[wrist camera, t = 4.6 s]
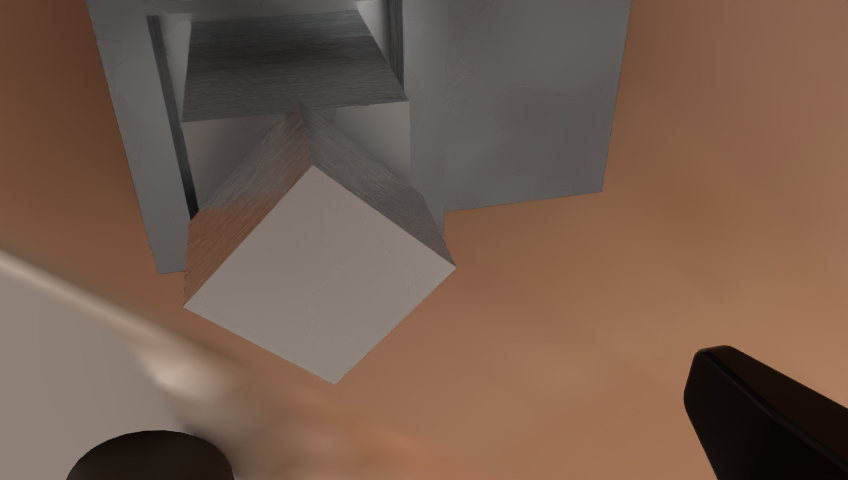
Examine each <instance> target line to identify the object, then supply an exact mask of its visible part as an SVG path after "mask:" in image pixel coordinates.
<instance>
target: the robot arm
mask: <svg viewBox="0 0 848 480" xmlns="http://www.w3.org/2000/svg"><path fill="white" fill-rule="evenodd" d="M684 406H685V409H686V412H687V414H688V416H689V419H690V421H691V423H692V425H693V427H694V430H695V432H696V434H697V436H698V438H699V440H700V443H701V445H702V447H703V449H704V451H705V453H706V456H707V458H708V460H709V462H710V464H711V466H712V469H713V471H714V473H715V475H716V477H717V479H718V480H848V408H846V407H844V406H842V405H840V404H838V403H836V402H834V401H833V400H831V399H829V398H827V397H825V396H823V395H821V394H820V393H818V392H816V391H814V390H812V389H810V388H808V387H806V386H805V385H803V384H801V383H799V382H797V381H795V380H793V379H792V378H790V377H788V376H786V375H784V374H782V373H780V372H778V371H777V370H775V369H773V368H771V367H769V366H767V365H765V364H764V363H762V362H760V361H758V360H756V359H754V358H752V357H750V356H749V355H747V354H745V353H743V352H741V351H739V350H737V349H736V348H733V347H731V346H727V345H722V346H716V347H710V348H704V349H701V350H699V351H698V352H697V353H696V354H695V355H694V358H693V361H692V365H691V368H690V372H689V376H688V379H687V383H686V386H685V390H684Z"/></svg>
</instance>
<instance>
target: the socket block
mask: <svg viewBox="0 0 848 480" xmlns="http://www.w3.org/2000/svg"><path fill="white" fill-rule="evenodd" d="M86 3H87V7H88V11H89V15H90V19H91V22H92V26H93V30H94V34H95V38H96V42H97V45H98V49H99V53H100V57H101V61H102V65H103V68H104V72H105V76H106V80H107V84H108V88H109V91H110V95H111V99H112V103H113V107H114V111H115V114H116V118H117V122H118V126H119V130H120V134H121V137H122V141H123V145H124V149H125V153H126V157H127V160H128V164H129V168H130V172H131V176H132V180H133V183H134V187H135V191H136V195H137V199H138V203H139V206H140V210H141V214H142V218H143V222H144V226H145V229H146V233H147V237H148V241H149V245H150V249H152V251H153V255H154V259H155V262H156V266H157V270H158V274H164V273H172V272H179V271H185V269H186V254H187V239H188V224H189V222H190V221H191V220H192V219H193V218H194V217H195V215H196V214H197V213H198V212H199V207H198V202H197V198H196V193H195V188H194V183H193V178H192V173H191V169H190V164H189V159H188V154H187V149H186V144H185V140H184V135H183V130H182V125H181V118H182V109H183V99H184V90H185V81H186V71H187V62H188V53H189V43H190V34H191V25H192V22H197V21H212V20H226V19H241V18H255V17H270V16H284V15H299V14H313V13H328V12H342V11H357V10H358V11H359V13H360V14H361V16H362V18H363V20H364V21H365V23H366V25H367V27H368V29H369V30H370V32H371V34H372V36H373V37H374V39H375V41H376V43H377V44H378V46H379V48H380V50H381V52H382V53H383V55H384V57H385V59H386V60H387V62H388V64H389V66H390V67H391V69H392V71H393V73H394V75H395V76H396V78H397V80H398V82H399V83H400V85H401V87H402V89H403V90H404V92H405V94H406V96H407V98H408V99H409V103H410V177H411V187H413V188H414V189H415V190H417V191H418V192H419V193H420V194H422V195H423V198H424V200H425V202H426V204H427V206H428V208H429V210H430V212H431V214H432V217H433V219H434V221H435V223H436V225H437V227H438V229H439V231H440V234H441V236H444V212H448V211H456V210H464V209H471V208H479V207H487V206H495V205H503V204H511V203H519V202H526V201H534V200H542V199H550V198H558V197H566V196H574V195H582V194H589V193H597V192H602V187H603V180H604V174H605V168H606V161H607V155H608V149H609V142H610V136H611V130H612V124H613V117H614V111H615V105H616V98H617V92H618V86H619V79H620V73H621V67H622V60H623V54H624V48H625V41H626V35H627V29H628V22H629V16H630V10H631V3H632V0H86Z"/></svg>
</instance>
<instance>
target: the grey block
mask: <svg viewBox="0 0 848 480" xmlns="http://www.w3.org/2000/svg"><path fill="white" fill-rule="evenodd" d="M181 125H182V130H183V135H184V140H185V144H186V149H187V154H188V159H189V164H190V169H191V173H192V178H193V183H194V188H195V193H196V198H197V202H198V207H199V212H198V213H197V214H196V215H195V217H194V218H193V219H192V220H191V221H190V222H189V224H188V239H187V254H186V269H185V284H184V299H183V307H184V308H186V309H188V310H190V311H192V312H194V313H196V314H197V315H199V316H201V317H203V318H205V319H207V320H209V321H211V322H213V323H215V324H217V325H219V326H221V327H223V328H225V329H227V330H229V331H231V332H233V333H235V334H236V335H238V336H240V337H242V338H244V339H246V340H248V341H250V342H252V343H254V344H256V345H258V346H260V347H262V348H264V349H266V350H268V351H270V352H272V353H273V354H275V355H277V356H279V357H281V358H283V359H285V360H287V361H289V362H291V363H293V364H295V365H297V366H299V367H301V368H303V369H305V370H307V371H309V372H311V373H312V374H314V375H316V376H318V377H320V378H322V379H324V380H326V381H328V382H330V383H332V384H334V385H335V384H336V383H337V382H338V381H339V380H340V379H341V378H342V377H343V376H344V375H345V374H346V373H348V372H349V371H350V370H351V369H352V368H353V367H354V366H355V365H356V364H357V363H358V362H359V361H360V360H361V359H362V358H363V357H364V356H365V355H366V354H367V353H368V352H369V351H370V350H372V349H373V348H374V347H375V346H376V345H377V344H378V343H379V342H380V341H381V340H382V339H383V338H384V337H385V336H386V335H387V334H388V333H389V332H390V331H391V330H392V329H393V328H394V327H395V326H397V325H398V324H399V323H400V322H401V321H402V320H403V319H404V318H405V317H406V316H407V315H408V314H409V313H410V312H411V311H412V310H413V309H414V308H415V307H416V306H417V305H418V304H419V303H421V302H422V301H423V300H424V299H425V298H426V297H427V296H428V295H429V294H430V293H431V292H432V291H433V290H434V289H435V288H436V287H437V286H438V285H439V284H440V283H441V282H442V281H443V280H444V279H446V278H447V277H448V276H449V275H450V274H451V273H452V272H453V271H454V270H455V269H456V265H455V263H454V261H453V259H452V257H451V255H450V253H449V251H448V248H447V246H446V244H445V242H444V240H443V238H442V236H441V234H440V231H439V229H438V227H437V225H436V223H435V221H434V219H433V217H432V214H431V212H430V210H429V208H428V206H427V204H426V202H425V200H424V198H423V195H422V194H420V193H419V192H418V191H417V190H415V189H414V188H413V187H411V177H410V103H409V99H408V98H407V96H406V94H405V92H404V90H403V89H402V87H401V85H400V83H399V82H398V80H397V78H396V76H395V75H394V73H393V71H392V69H391V67H390V66H389V64H388V62H387V60H386V59H385V57H384V55H383V53H382V52H381V50H380V48H379V46H378V44H377V43H376V41H375V39H374V37H373V36H372V34H371V32H370V30H369V29H368V27H367V25H366V23H365V21H364V20H363V18H362V16H361V14H360V13H359V11H358V10H357V11H342V12H328V13H313V14H299V15H284V16H270V17H255V18H241V19H226V20H212V21H197V22H192V25H191V34H190V43H189V53H188V62H187V71H186V81H185V90H184V99H183V109H182V118H181Z"/></svg>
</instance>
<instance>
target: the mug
mask: <svg viewBox="0 0 848 480" xmlns="http://www.w3.org/2000/svg"><path fill="white" fill-rule="evenodd" d="M66 480H235V479H234V477H233V473H232V469H231V466H230V464H229V462H228V461H227V459H226V458H225V456H224V455H223V454H222V453H221V452H220V451H219V450H218V449H217V448H216V447H214V446H213V445H212V444H210V443H208V442H206V441H204V440H202V439H200V438H198V437H195V436H192V435H189V434H185V433H181V432H173V431H165V430H158V431H141V432H135V433H129V434H125V435H122V436H118V437H116V438H113V439H110V440H107V441H106V442H104V443H102V444H100V445H98V446H96V447H94V448H93V449H91V450H90V451H89V452H87V453H86V454H85V455H84V456H83V457H82V458H80V459H79V460H78V462H77V463H76V465H75V466H74V467H73V468H72V470H71V471H70V473H69V475H68V477H67V479H66Z"/></svg>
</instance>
